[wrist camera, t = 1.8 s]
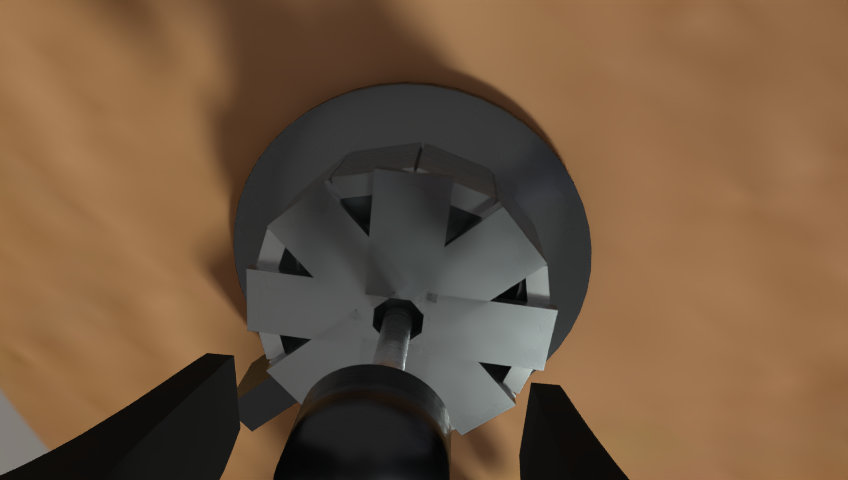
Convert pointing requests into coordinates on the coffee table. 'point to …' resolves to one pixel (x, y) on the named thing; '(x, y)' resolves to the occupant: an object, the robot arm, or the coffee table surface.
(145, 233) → the coffee table surface
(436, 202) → the grey fan
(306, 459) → the plunger
